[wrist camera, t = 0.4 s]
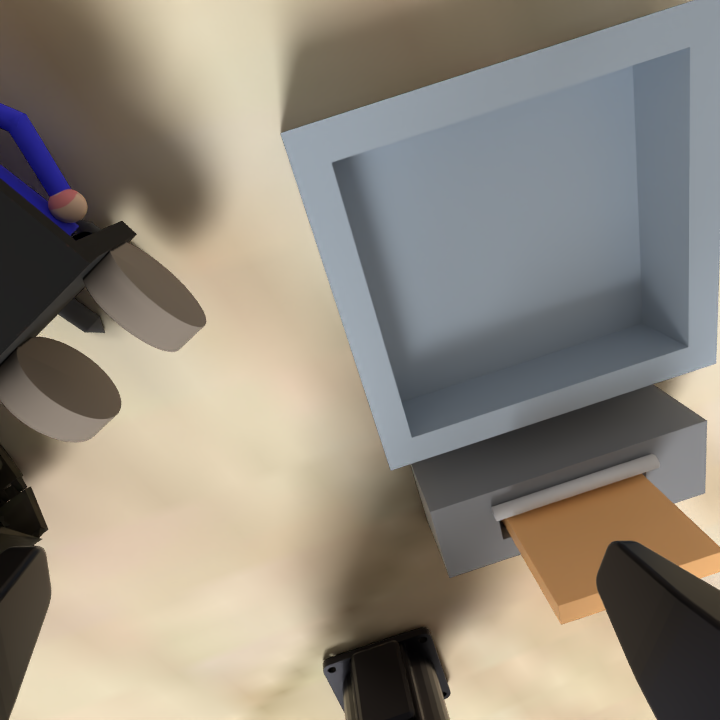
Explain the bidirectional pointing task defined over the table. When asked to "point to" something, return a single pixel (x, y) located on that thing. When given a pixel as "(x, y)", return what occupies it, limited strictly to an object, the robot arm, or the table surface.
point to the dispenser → (557, 470)
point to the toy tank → (17, 508)
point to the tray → (525, 231)
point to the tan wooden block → (604, 540)
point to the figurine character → (71, 297)
